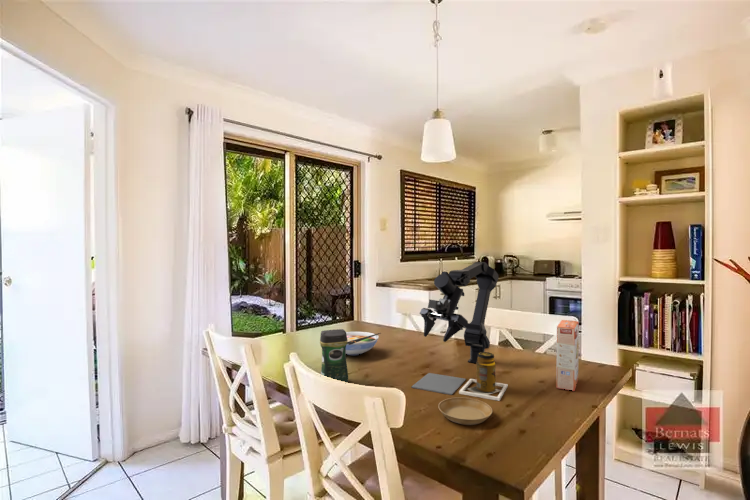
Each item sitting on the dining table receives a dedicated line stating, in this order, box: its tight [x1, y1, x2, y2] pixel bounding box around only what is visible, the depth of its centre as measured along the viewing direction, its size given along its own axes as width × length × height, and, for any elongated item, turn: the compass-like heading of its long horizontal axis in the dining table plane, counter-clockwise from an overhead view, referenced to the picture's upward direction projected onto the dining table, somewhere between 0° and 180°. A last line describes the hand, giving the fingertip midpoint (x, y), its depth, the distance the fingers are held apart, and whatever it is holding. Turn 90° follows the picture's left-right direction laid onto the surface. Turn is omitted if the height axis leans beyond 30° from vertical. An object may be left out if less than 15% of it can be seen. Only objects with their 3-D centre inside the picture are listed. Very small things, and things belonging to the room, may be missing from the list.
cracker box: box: [555, 319, 580, 392], centre depth 133 cm, size 14×6×21 cm, turn 148°
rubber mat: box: [411, 372, 467, 396], centre depth 134 cm, size 16×14×1 cm
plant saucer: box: [437, 396, 493, 426], centre depth 109 cm, size 15×15×3 cm
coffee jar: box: [319, 328, 349, 383], centre depth 136 cm, size 10×8×19 cm
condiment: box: [466, 351, 502, 396], centre depth 128 cm, size 7×8×12 cm
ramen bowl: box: [346, 331, 382, 356], centre depth 174 cm, size 25×23×8 cm
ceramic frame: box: [458, 378, 508, 402], centre depth 128 cm, size 14×13×1 cm
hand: (434, 338), depth 139 cm, fingers open, 9 cm apart
